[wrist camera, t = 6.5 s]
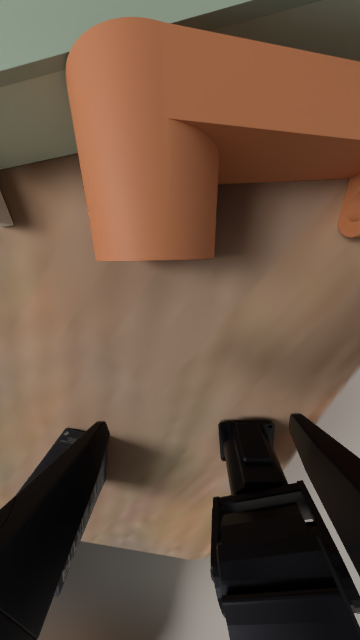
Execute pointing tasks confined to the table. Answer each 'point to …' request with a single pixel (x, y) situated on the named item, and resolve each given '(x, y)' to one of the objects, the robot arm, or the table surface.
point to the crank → (201, 130)
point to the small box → (56, 450)
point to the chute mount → (110, 3)
